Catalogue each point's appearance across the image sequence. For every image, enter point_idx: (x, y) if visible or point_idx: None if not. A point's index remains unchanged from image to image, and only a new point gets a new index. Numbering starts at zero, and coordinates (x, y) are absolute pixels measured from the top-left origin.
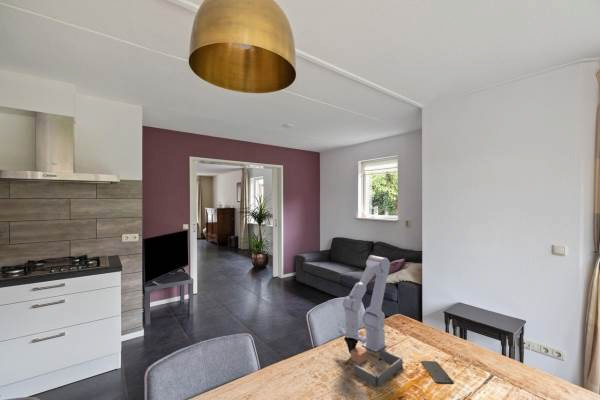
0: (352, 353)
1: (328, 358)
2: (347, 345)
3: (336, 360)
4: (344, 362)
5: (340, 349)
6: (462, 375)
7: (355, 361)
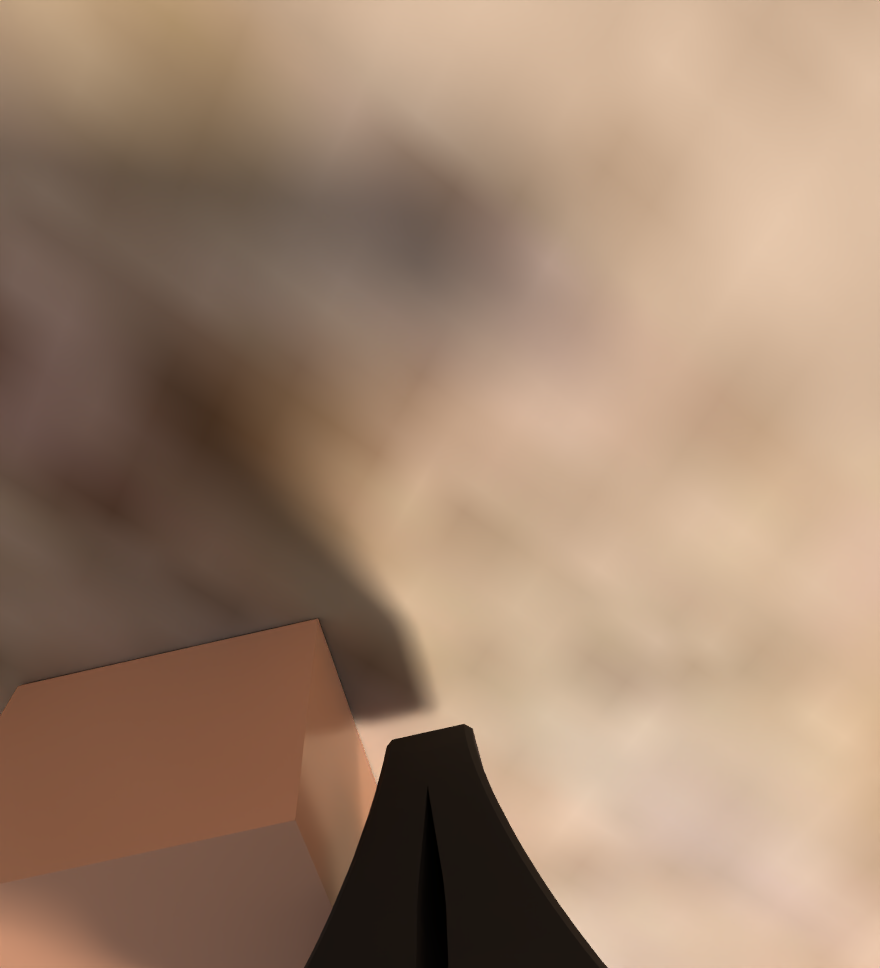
0: (230, 775)
1: (737, 15)
2: (537, 895)
3: (481, 214)
4: (266, 382)
5: (851, 648)
6: None
7: (159, 662)
